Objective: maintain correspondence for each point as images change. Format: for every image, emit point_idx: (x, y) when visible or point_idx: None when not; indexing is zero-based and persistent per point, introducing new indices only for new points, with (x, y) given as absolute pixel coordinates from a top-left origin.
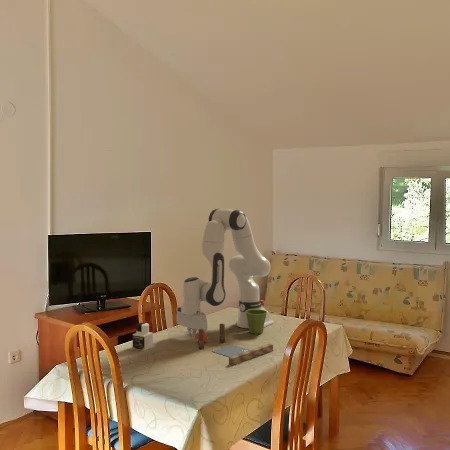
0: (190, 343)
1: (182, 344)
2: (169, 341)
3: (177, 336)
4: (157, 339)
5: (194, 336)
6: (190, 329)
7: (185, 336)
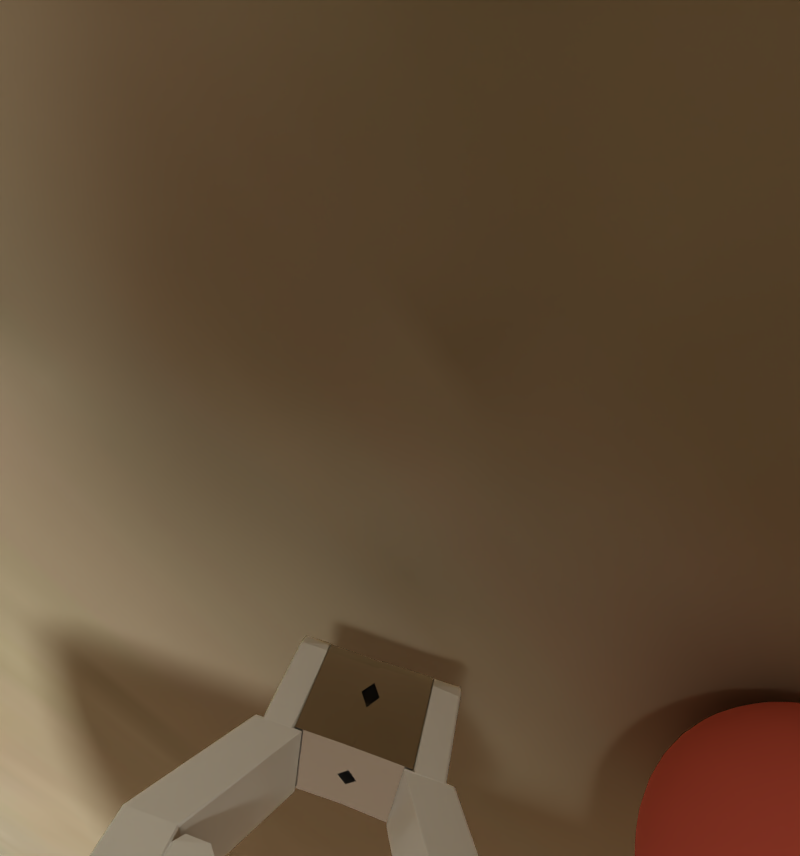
0: (535, 792)
1: None
2: (180, 761)
3: (22, 534)
4: (7, 725)
5: (457, 703)
6: (200, 830)
7: (113, 473)
